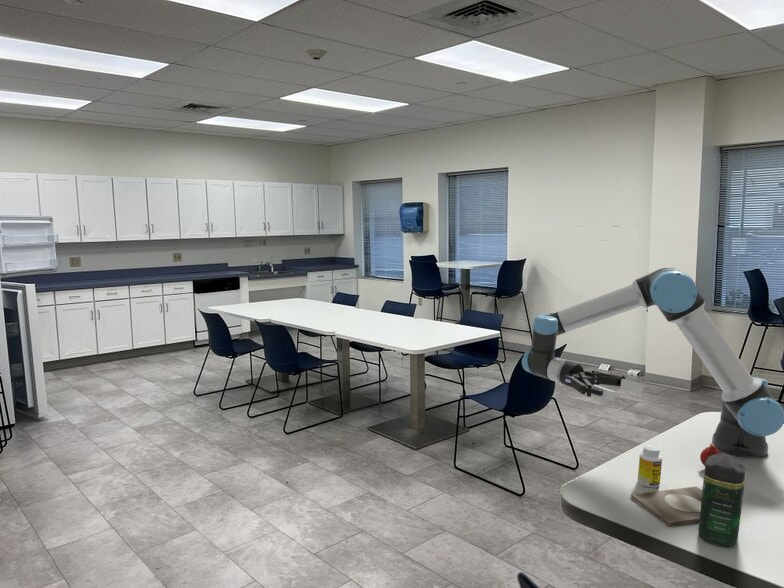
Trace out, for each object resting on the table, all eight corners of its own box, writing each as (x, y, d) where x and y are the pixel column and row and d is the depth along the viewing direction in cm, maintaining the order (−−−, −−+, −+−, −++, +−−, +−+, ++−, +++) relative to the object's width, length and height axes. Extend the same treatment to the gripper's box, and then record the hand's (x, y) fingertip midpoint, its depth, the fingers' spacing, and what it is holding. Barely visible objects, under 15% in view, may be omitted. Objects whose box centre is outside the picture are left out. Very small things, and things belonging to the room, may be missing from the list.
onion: (721, 468, 165) (723, 442, 164) (723, 476, 160) (725, 449, 159) (698, 464, 167) (700, 438, 166) (699, 472, 162) (702, 446, 161)
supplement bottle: (652, 490, 151) (655, 453, 150) (633, 482, 156) (636, 446, 154) (664, 485, 154) (667, 449, 153) (645, 477, 159) (648, 442, 158)
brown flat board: (696, 490, 152) (696, 485, 152) (739, 516, 138) (740, 512, 138) (631, 498, 147) (631, 493, 147) (669, 526, 133) (669, 521, 133)
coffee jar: (737, 552, 123) (745, 471, 121) (696, 540, 128) (703, 462, 125) (739, 532, 132) (747, 455, 129) (700, 521, 136) (707, 447, 133)
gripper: (589, 379, 184) (651, 399, 167) (538, 389, 169) (600, 413, 152) (592, 356, 183) (654, 374, 166) (540, 365, 168) (603, 386, 151)
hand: (628, 393), depth 159 cm, fingers open, 13 cm apart
